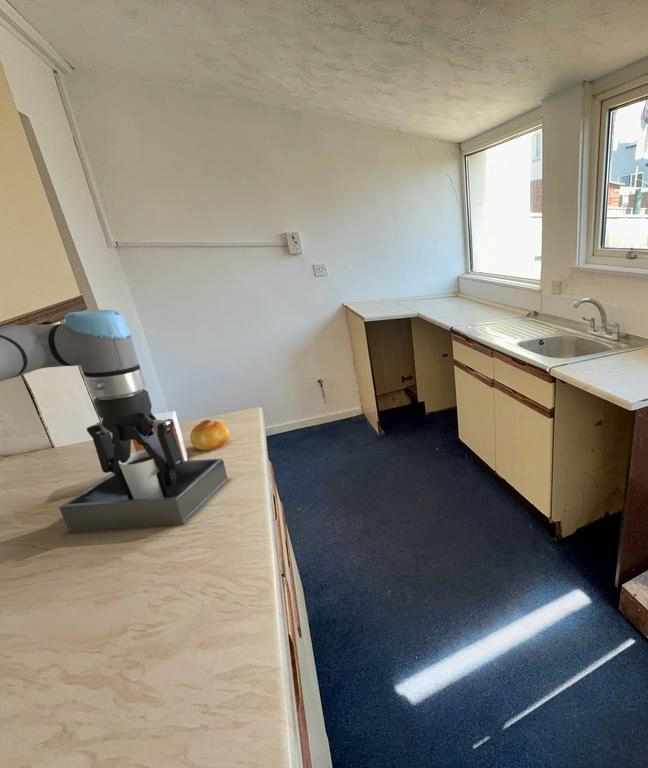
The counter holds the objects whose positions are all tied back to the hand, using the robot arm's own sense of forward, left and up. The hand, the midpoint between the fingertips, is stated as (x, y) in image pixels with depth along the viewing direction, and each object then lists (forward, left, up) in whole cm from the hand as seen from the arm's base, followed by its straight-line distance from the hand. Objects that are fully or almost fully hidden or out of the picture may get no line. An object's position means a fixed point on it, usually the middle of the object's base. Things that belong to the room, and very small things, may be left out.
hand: (154, 498), depth 82 cm
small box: (-9, +17, -2) cm, 19 cm away
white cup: (0, 0, 0) cm, 0 cm away
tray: (0, 0, -2) cm, 2 cm away
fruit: (-4, +27, -2) cm, 27 cm away
